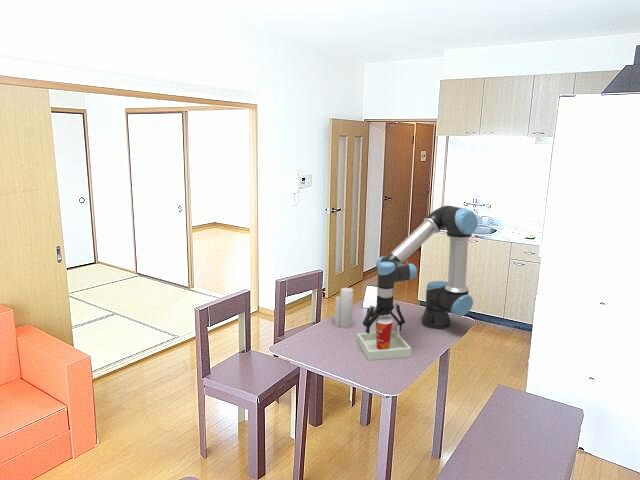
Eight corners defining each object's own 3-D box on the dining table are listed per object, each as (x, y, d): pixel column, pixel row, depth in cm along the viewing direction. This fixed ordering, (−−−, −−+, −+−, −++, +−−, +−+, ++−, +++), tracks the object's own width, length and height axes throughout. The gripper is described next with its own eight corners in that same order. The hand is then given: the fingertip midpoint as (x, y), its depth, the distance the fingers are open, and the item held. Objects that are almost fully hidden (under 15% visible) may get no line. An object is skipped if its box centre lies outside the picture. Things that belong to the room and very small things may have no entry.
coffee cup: (372, 343, 227) (373, 314, 224) (389, 343, 228) (390, 314, 224) (376, 351, 219) (377, 321, 216) (393, 351, 220) (395, 320, 216)
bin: (395, 338, 235) (396, 330, 234) (410, 356, 216) (411, 348, 215) (356, 341, 231) (357, 333, 230) (368, 360, 212) (369, 351, 211)
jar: (363, 329, 245) (363, 307, 243) (376, 327, 248) (377, 305, 246) (371, 336, 237) (372, 313, 235) (385, 333, 240) (386, 311, 238)
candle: (354, 325, 251) (355, 289, 246) (346, 329, 245) (347, 292, 241) (338, 319, 258) (339, 284, 254) (329, 323, 253) (330, 287, 248)
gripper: (407, 291, 223) (405, 333, 228) (356, 294, 219) (355, 336, 223) (413, 296, 216) (411, 339, 221) (361, 299, 211) (359, 343, 216)
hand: (383, 338), depth 222 cm, fingers open, 13 cm apart
